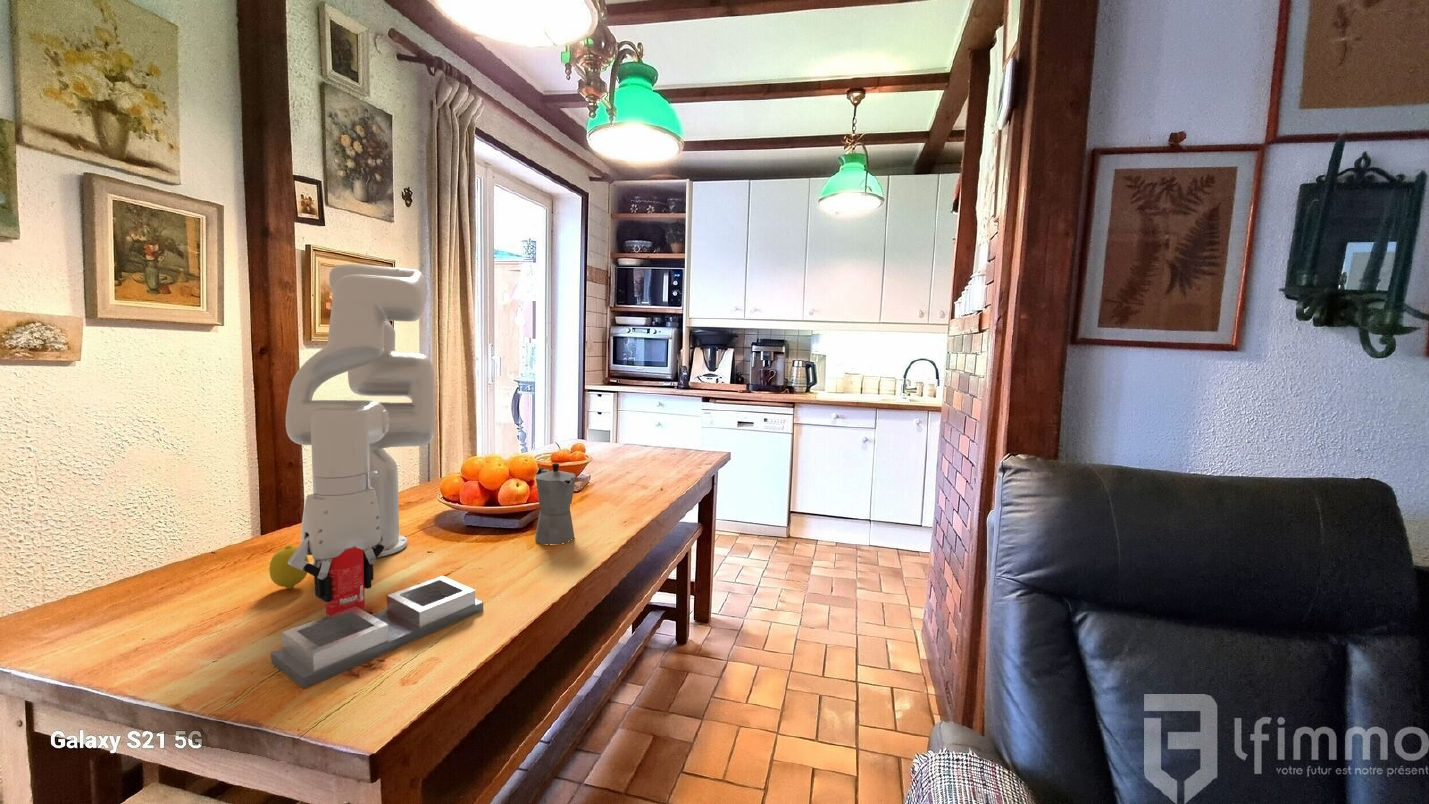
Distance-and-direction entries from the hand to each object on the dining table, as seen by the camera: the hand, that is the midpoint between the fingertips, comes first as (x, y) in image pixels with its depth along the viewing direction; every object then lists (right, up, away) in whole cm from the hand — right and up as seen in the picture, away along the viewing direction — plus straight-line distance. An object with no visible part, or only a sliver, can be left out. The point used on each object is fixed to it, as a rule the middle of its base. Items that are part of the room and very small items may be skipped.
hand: (345, 591), depth 88 cm
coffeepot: (+22, -1, +39) cm, 45 cm away
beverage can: (0, -4, 0) cm, 4 cm away
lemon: (-16, -3, +9) cm, 18 cm away
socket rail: (+10, -5, -5) cm, 12 cm away
